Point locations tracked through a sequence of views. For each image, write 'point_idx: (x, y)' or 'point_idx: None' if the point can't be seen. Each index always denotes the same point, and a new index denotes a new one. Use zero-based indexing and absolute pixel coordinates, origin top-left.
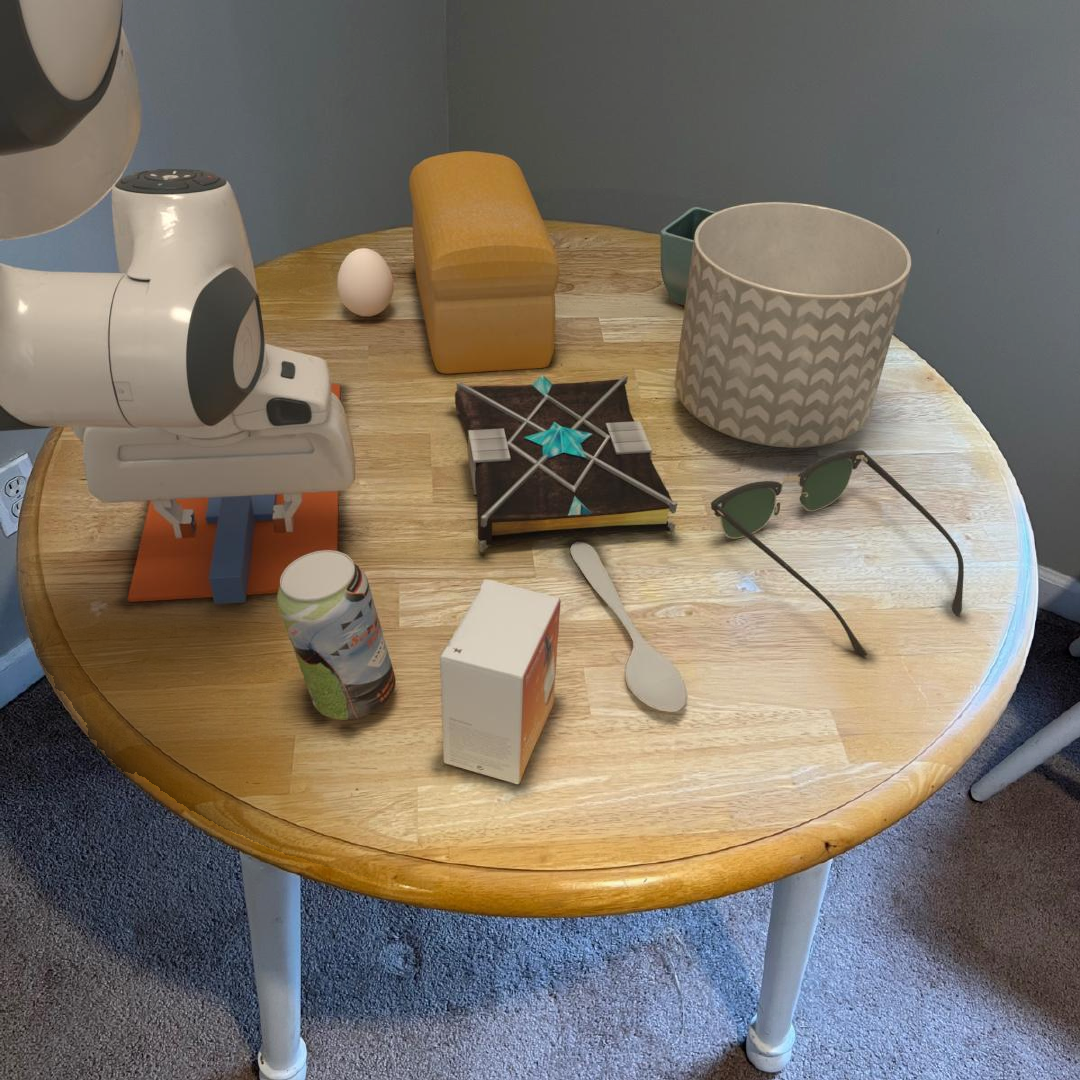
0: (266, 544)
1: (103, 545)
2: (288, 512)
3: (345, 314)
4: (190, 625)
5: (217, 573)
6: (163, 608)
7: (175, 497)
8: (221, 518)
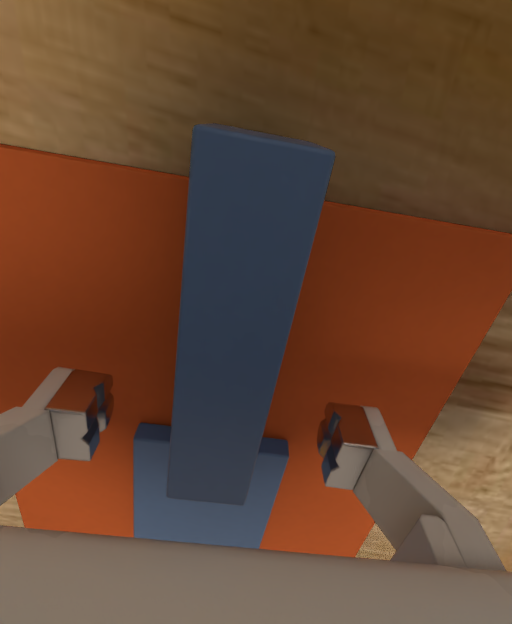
0: (154, 356)
1: (501, 427)
2: (9, 424)
3: None
4: (400, 73)
5: (295, 175)
6: (453, 186)
7: (437, 580)
8: (250, 443)
